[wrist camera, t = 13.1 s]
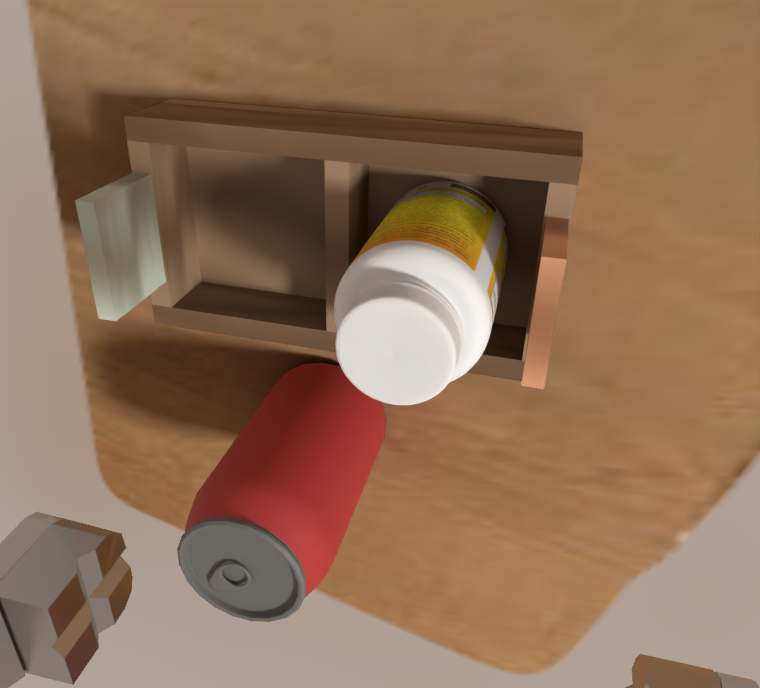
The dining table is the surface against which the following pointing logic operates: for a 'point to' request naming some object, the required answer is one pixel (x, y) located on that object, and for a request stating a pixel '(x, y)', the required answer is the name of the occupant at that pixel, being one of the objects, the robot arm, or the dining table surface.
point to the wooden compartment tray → (316, 218)
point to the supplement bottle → (422, 294)
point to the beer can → (283, 495)
